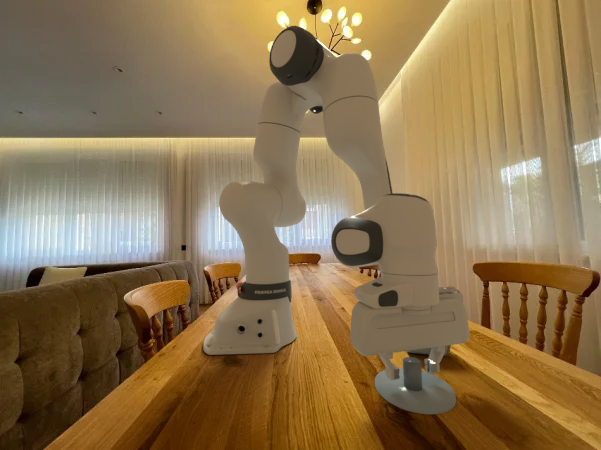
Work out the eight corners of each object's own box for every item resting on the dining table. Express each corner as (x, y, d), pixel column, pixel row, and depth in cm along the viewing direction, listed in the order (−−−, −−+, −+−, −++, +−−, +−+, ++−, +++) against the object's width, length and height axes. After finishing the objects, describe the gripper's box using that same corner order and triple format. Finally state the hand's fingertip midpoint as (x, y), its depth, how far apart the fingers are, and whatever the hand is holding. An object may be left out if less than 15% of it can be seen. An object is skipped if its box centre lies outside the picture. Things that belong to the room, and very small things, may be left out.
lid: (403, 423, 34) (401, 387, 34) (362, 376, 46) (361, 349, 46) (476, 409, 37) (474, 375, 37) (420, 368, 48) (419, 342, 49)
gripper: (447, 282, 47) (451, 358, 47) (345, 289, 43) (347, 373, 42) (477, 289, 41) (482, 376, 41) (362, 298, 37) (365, 395, 36)
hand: (412, 374), depth 41 cm, fingers open, 6 cm apart
